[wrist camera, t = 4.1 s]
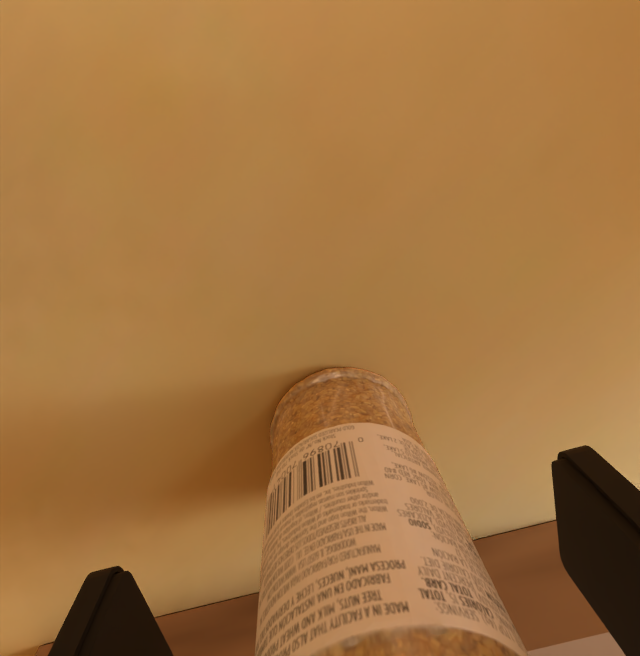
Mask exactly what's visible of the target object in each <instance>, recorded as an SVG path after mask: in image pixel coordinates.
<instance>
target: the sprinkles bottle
mask: <svg viewBox="0 0 640 656" xmlns="http://www.w3.org/2000/svg"><path fill="white" fill-rule="evenodd" d="M270 442H271V447H272V452H273V460H272V476H271V478H270V482H269V485H268V490H267V499H266V512H265V525H264V538H263V551H262V564H261V578H260V591H259V603H258V617H257V631H256V645H255V656H529V654H528V652H527V650H526V648H525V646H524V644H523V642H522V640H521V638H520V636H519V634H518V632H517V630H516V628H515V626H514V624H513V622H512V620H511V618H510V616H509V614H508V612H507V610H506V608H505V606H504V604H503V602H502V600H501V598H500V596H499V594H498V592H497V590H496V588H495V586H494V584H493V582H492V580H491V578H490V576H489V574H488V572H487V570H486V568H485V566H484V564H483V562H482V560H481V558H480V556H479V554H478V552H477V549H476V547H475V545H474V543H473V541H472V539H471V537H470V535H469V533H468V531H467V529H466V527H465V525H464V523H463V521H462V519H461V517H460V515H459V513H458V511H457V508H456V506H455V504H454V502H453V500H452V498H451V496H450V494H449V492H448V490H447V488H446V486H445V484H444V482H443V480H442V478H441V475H440V473H439V471H438V469H437V467H436V465H435V463H434V461H433V460H432V458H431V457H430V455H429V454H428V453H427V452H426V450H425V449H424V446H423V444H422V442H421V440H420V438H419V436H418V434H417V431H416V429H415V427H414V426H413V421H412V416H411V413H410V411H409V409H408V407H407V404H406V401H405V399H404V397H403V396H402V394H401V393H400V392H399V390H398V389H397V388H396V387H395V386H394V385H393V384H391V383H390V382H389V381H387V380H386V379H385V378H384V377H382V376H381V375H379V374H375V373H373V372H370V371H368V370H363V369H357V368H352V367H345V368H339V367H337V368H329V369H325V370H322V371H320V372H317V373H314V374H312V375H310V376H308V377H306V378H305V379H304V380H302V381H300V382H298V383H296V384H295V385H294V386H293V387H292V388H291V389H290V390H289V391H288V392H287V393H286V394H285V396H284V397H283V398H282V399H281V401H280V402H279V404H278V405H277V408H276V411H275V413H274V418H273V420H272V422H271V426H270Z"/></svg>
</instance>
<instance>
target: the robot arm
mask: <svg viewBox="0 0 640 656" xmlns="http://www.w3.org/2000/svg"><path fill="white" fill-rule="evenodd" d="M552 477H553V488H554V499H555V509H556V520H557V531H558V541H559V552H560V558H561V561H562V563H563V566H564V568H565V570H566V572H567V573H568V575H569V576H570V577H571V579H572V580H573V582H574V583H575V585H576V586H577V587H578V589H579V590H580V592H581V593H582V594H583V596H584V597H585V599H586V600H587V601H588V603H589V604H590V606H591V607H592V609H593V610H594V611H595V613H596V614H597V616H598V617H599V618H600V620H601V621H602V623H603V624H604V625H605V627H606V628H607V630H608V631H609V633H610V634H611V635H612V637H613V638H614V640H615V641H616V642H617V644H618V645H619V647H620V648H621V649H622V651H623V652H624V654H625V655H626V656H640V491H639V490H638V489H637V488H636V487H635V486H634V485H633V484H632V483H630V482H629V481H628V480H627V479H626V478H625V477H624V476H623V475H621V474H620V473H619V472H618V471H617V470H616V469H615V468H614V467H612V466H611V465H610V464H609V463H608V462H607V461H606V460H605V459H603V458H602V457H601V456H600V455H599V454H598V453H597V452H596V451H594V450H593V449H592V448H591V447H589V446H586V445H585V446H581V447H577V448H573V449H569V450H565V451H562V452H559V454H558V460H556V461H553V462H552ZM48 656H173V654H172V651H171V649H170V647H169V645H168V644H167V642H166V640H165V638H164V636H163V634H162V632H161V630H160V628H159V626H158V624H157V622H156V620H155V618H154V617H153V615H152V613H151V611H150V609H149V607H148V605H147V603H146V601H145V599H144V597H143V595H142V593H141V591H140V590H139V588H138V586H137V584H136V582H135V580H134V578H133V576H132V574H131V573H130V572H129V571H124V570H123V569H122V568H121V567H119V566H115V567H111V568H107V569H103V570H99V571H95V572H92V573H90V574H89V575H88V576H87V578H86V579H85V581H84V583H83V585H82V587H81V589H80V591H79V593H78V595H77V597H76V599H75V601H74V603H73V605H72V607H71V609H70V611H69V613H68V615H67V617H66V619H65V621H64V623H63V625H62V627H61V629H60V631H59V633H58V635H57V638H56V640H55V642H54V644H53V646H52V648H51V650H50V652H49V654H48Z"/></svg>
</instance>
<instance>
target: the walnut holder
mask: <svg viewBox="0 0 640 656" xmlns="http://www.w3.org/2000/svg"><path fill="white" fill-rule="evenodd" d="M473 543H474V545H475V547H476V549H477V552H478V554H479V556H480V558H481V560H482V562H483V564H484V566H485V568H486V570H487V572H488V574H489V576H490V578H491V580H492V582H493V584H494V586H495V588H496V590H497V592H498V594H499V596H500V598H501V600H502V602H503V604H504V606H505V608H506V610H507V612H508V614H509V616H510V618H511V620H512V622H513V624H514V626H515V628H516V630H517V632H518V634H519V636H520V638H521V640H522V642H523V644H524V646H525V648H526V650H527V652H528V654H529V656H626V655H625V654H624V652H623V651H622V649H621V648H620V647H619V645H618V644H617V642H616V641H615V640H614V638H613V637H612V635H611V634H610V633H609V631H608V630H607V628H606V627H605V625H604V624H603V623H602V621H601V620H600V618H599V617H598V616H597V614H596V613H595V611H594V610H593V609H592V607H591V606H590V604H589V603H588V601H587V600H586V599H585V597H584V596H583V594H582V593H581V592H580V590H579V589H578V587H577V586H576V585H575V583H574V582H573V580H572V579H571V577H570V576H569V575H568V573H567V572H566V570H565V568H564V566H563V563H562V561H561V558H560V552H559V541H558V531H557V521H553V522H549V523H544V524H540V525H536V526H532V527H528V528H524V529H520V530H516V531H511V532H507V533H503V534H499V535H495V536H491V537H487V538H483V539H479V540H474V541H473ZM258 603H259V593H256V594H252V595H248V596H244V597H240V598H236V599H232V600H228V601H223V602H219V603H215V604H211V605H207V606H203V607H199V608H195V609H191V610H186V611H182V612H178V613H174V614H170V615H166V616H162V617H158V618H155V620H156V622H157V624H158V626H159V628H160V630H161V632H162V634H163V636H164V638H165V640H166V642H167V644H168V645H169V647H170V649H171V651H172V654H173V656H255V645H256V631H257V617H258ZM53 644H54V643H51V644H47V645H42V646H40V647H39V649H38V651H37V653H36V654H35V656H48V654H49V652H50V650H51V648H52V646H53Z"/></svg>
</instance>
